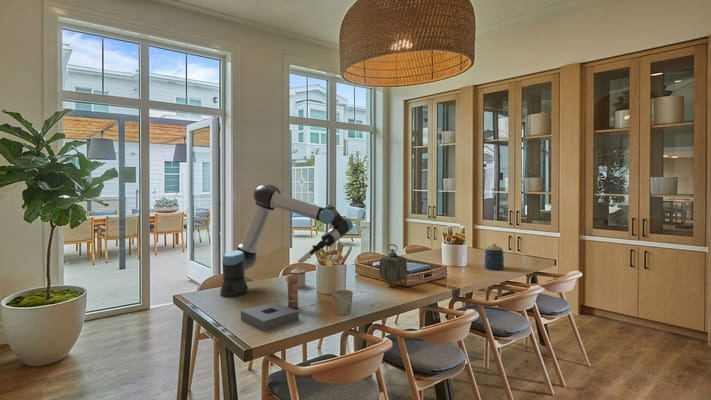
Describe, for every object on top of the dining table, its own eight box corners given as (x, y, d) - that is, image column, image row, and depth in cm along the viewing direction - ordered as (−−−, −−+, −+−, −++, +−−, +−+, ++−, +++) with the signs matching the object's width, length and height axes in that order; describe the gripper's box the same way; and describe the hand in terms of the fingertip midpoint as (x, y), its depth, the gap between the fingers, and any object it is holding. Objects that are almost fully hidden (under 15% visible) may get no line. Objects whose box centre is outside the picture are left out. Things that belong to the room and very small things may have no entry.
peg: (286, 308, 195) (285, 276, 194) (294, 305, 198) (293, 274, 198) (291, 310, 191) (291, 277, 191) (300, 308, 195) (299, 276, 194)
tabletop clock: (407, 286, 232) (406, 244, 231) (398, 289, 225) (398, 246, 224) (387, 282, 241) (386, 242, 240) (378, 285, 235) (377, 244, 233)
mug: (346, 317, 180) (346, 295, 180) (324, 312, 187) (324, 292, 187) (356, 312, 188) (356, 291, 187) (334, 307, 194) (334, 287, 194)
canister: (486, 270, 272) (486, 244, 271) (483, 266, 284) (483, 242, 284) (505, 270, 270) (505, 245, 269) (501, 266, 282) (502, 242, 282)
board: (240, 319, 180) (240, 310, 180) (274, 310, 192) (274, 301, 192) (263, 330, 165) (263, 321, 165) (298, 319, 178) (298, 311, 178)
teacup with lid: (303, 283, 243) (303, 264, 242) (307, 287, 234) (307, 267, 234) (284, 285, 238) (283, 266, 237) (287, 289, 229) (287, 269, 229)
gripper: (342, 237, 211) (312, 261, 201) (327, 247, 233) (300, 270, 222) (333, 226, 211) (303, 249, 201) (320, 238, 233) (292, 259, 222)
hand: (302, 260), depth 211 cm, fingers open, 13 cm apart
